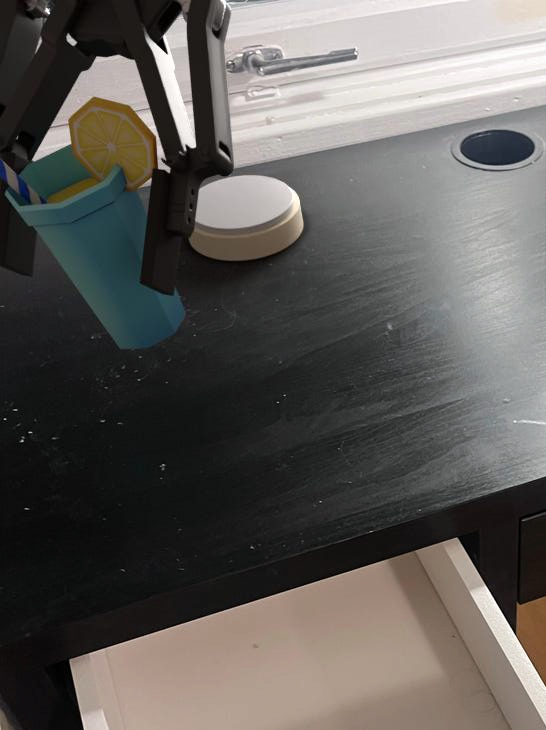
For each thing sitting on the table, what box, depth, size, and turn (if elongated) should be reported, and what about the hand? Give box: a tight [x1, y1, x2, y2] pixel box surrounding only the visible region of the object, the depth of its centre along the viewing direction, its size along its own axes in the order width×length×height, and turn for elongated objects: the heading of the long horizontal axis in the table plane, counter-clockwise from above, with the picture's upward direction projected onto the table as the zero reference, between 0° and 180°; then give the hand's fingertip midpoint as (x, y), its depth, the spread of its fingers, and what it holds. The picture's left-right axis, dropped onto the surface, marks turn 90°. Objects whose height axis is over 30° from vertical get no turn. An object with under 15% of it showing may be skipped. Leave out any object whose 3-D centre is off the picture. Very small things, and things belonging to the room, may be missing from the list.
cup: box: [0, 96, 187, 350], centre depth 61 cm, size 14×8×15 cm, turn 101°
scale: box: [187, 174, 304, 262], centre depth 94 cm, size 11×11×3 cm
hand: (84, 279), depth 60 cm, fingers closed on cup, 9 cm apart
